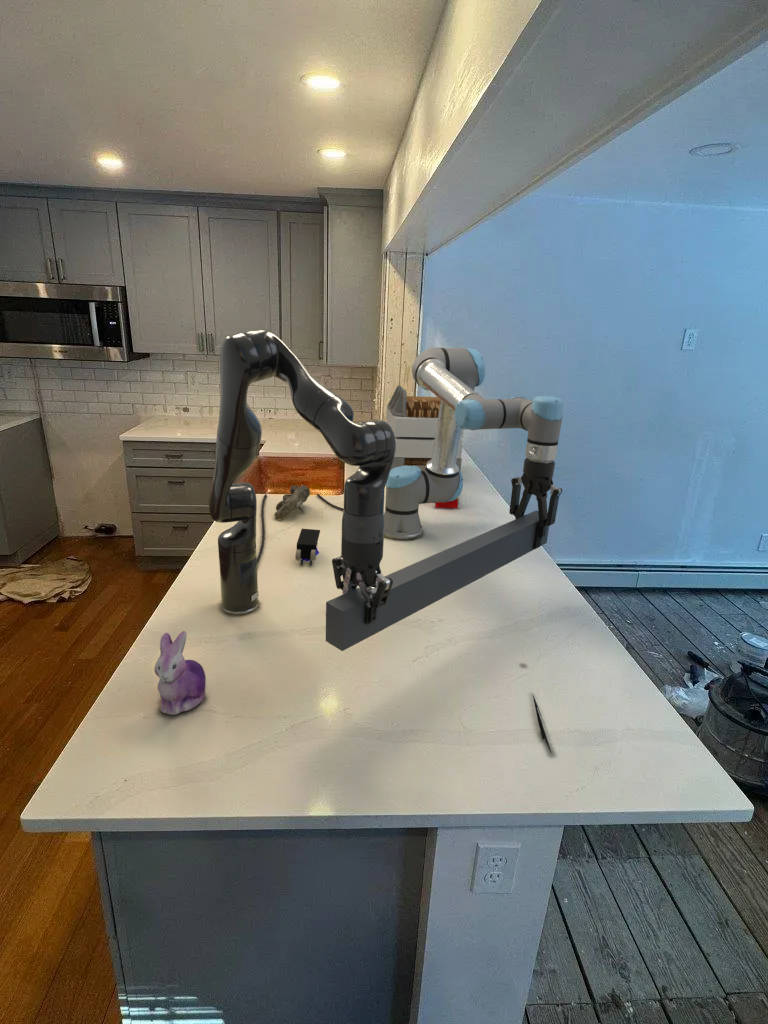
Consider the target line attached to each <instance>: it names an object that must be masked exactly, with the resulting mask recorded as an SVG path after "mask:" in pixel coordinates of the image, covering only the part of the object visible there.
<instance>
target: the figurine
mask: <svg viewBox="0 0 768 1024" xmlns="http://www.w3.org/2000/svg"><path fill="white" fill-rule="evenodd" d="M187 635H188V634H187V632H186V631H185V630H183V631H181V632H179V634H178V635H177V636H176V638H175V639H174V640H173V639H172V637H171V635H170V633H169V632H164V633H163V634H162V635H161V636H160V640H159V641H160V642H159V652H160V654H159V657H158V658H157V660H156V662H155V665H154V668H153V669H154V674H155V676H156V677H158V683H157V690H158V693H159V695H160V699H161V703H160V712H162V713H163V714H166V715H167V714H168V715H172V716H173V715H174V716H175V715H178V714H180V713H183V712H187V711H191V710H192V709H194V708H195V707H197V706H198V705H199V704H201V703H202V702H203V701H204V700H205V696H206V686H207V685H206V684H207V683H206V682H207V681H206V680H207V677H206V671H205V670H204V667H203V666H202V665H201V663H200V662H198V661H196V660H194V659H185V657H184V655H183V652H184V649H185V647H186V646H185V645H186V642H187V637H188V636H187Z"/></svg>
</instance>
